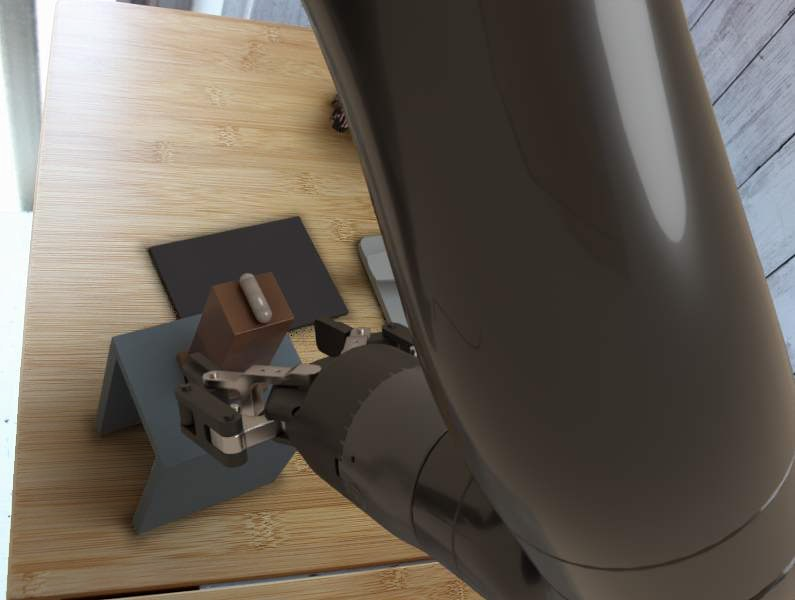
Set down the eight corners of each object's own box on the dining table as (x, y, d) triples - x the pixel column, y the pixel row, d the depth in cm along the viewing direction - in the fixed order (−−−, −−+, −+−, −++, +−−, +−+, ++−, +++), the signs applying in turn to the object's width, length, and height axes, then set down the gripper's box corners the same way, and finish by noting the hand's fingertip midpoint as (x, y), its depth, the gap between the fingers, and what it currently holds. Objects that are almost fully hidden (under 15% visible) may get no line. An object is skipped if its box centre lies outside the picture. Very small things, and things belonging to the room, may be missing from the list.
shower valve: (349, 214, 83) (472, 202, 90) (332, 245, 87) (452, 231, 94) (393, 322, 78) (520, 300, 85) (373, 349, 82) (495, 326, 89)
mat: (195, 358, 75) (197, 355, 74) (148, 250, 79) (149, 246, 78) (347, 314, 83) (349, 311, 83) (297, 219, 87) (299, 215, 87)
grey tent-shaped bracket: (137, 535, 65) (164, 468, 53) (94, 423, 68) (111, 336, 57) (274, 481, 71) (325, 410, 60) (229, 381, 75) (269, 295, 63)
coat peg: (199, 413, 56) (233, 335, 48) (175, 357, 58) (204, 272, 49) (266, 391, 59) (309, 314, 50) (241, 338, 60) (280, 254, 52)
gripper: (526, 331, 41) (351, 266, 54) (266, 420, 34) (135, 321, 46) (528, 465, 44) (360, 373, 56) (286, 576, 36) (156, 441, 49)
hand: (259, 349), depth 51 cm, fingers open, 8 cm apart
